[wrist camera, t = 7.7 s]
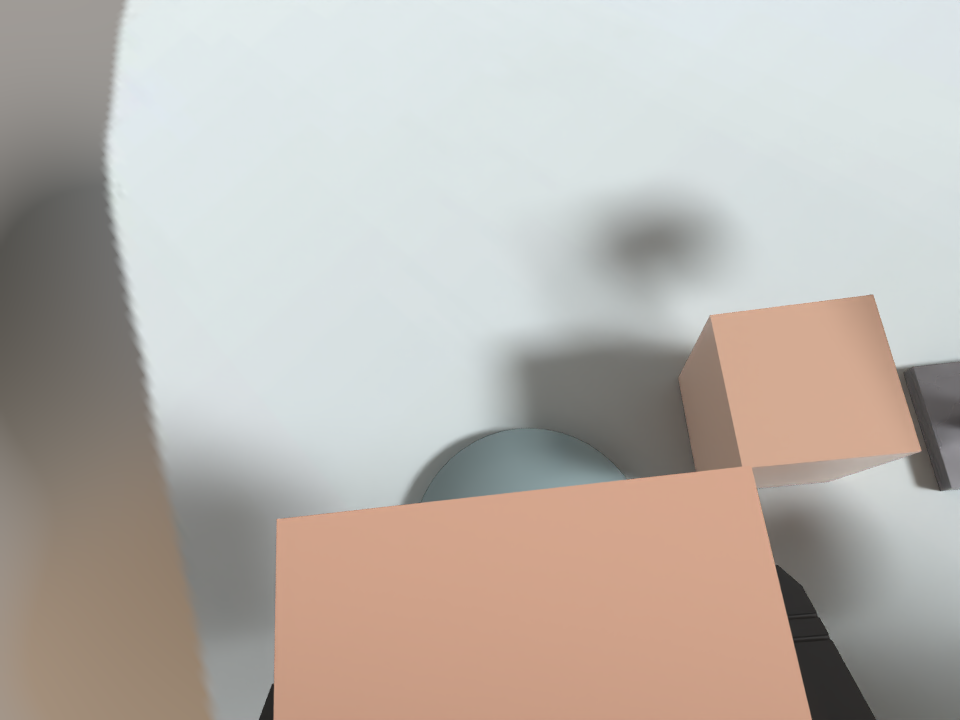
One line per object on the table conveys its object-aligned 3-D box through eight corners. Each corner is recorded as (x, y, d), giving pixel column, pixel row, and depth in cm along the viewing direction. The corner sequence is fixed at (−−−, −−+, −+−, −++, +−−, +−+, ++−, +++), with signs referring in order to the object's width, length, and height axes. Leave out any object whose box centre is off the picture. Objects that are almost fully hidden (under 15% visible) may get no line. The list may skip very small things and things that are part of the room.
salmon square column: (798, 363, 33) (873, 294, 24) (828, 481, 31) (921, 451, 22) (678, 377, 33) (710, 315, 25) (699, 493, 31) (742, 468, 23)
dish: (629, 421, 33) (631, 416, 32) (668, 668, 29) (671, 672, 28) (412, 444, 35) (407, 440, 33) (422, 682, 31) (416, 686, 30)
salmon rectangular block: (660, 518, 16) (751, 465, 8) (711, 796, 14) (914, 1148, 6) (428, 542, 17) (276, 519, 8) (445, 811, 15) (266, 1143, 6)
